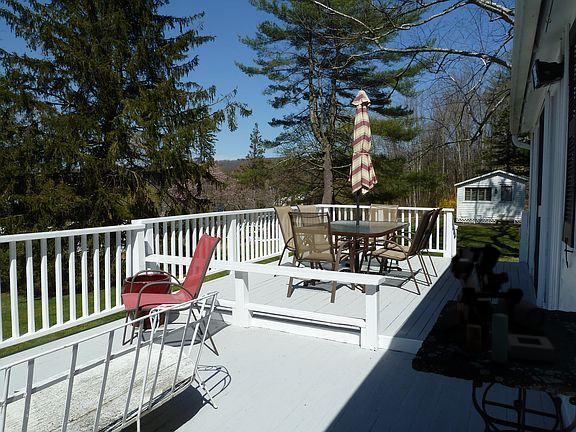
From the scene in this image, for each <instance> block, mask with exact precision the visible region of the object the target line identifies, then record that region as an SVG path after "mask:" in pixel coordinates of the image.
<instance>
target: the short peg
mask: <svg viewBox="0 0 576 432" xmlns="http://www.w3.org/2000/svg"><path fill="white" fill-rule="evenodd" d="M467 350H468V351H467ZM466 351H467V352H469V351H470V352H469V353H473V352H479V353H482V340H481V326H479V325H473V324H470V325H467V328H466Z"/></svg>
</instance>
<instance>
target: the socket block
mask: <svg viewBox="0 0 576 432" xmlns="http://www.w3.org/2000/svg"><path fill="white" fill-rule="evenodd" d="M555 352H556V350H555V348H554V345H552V343H551V341H550V340H549V339H548V337H547V336H538V335H529V334H528V335H527V334H526V335H525V334H514V333H508V355H509V357H510V359H521V360H528V361H529V360H532V361H541V362H549V363H555V356H556V355H555Z"/></svg>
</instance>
